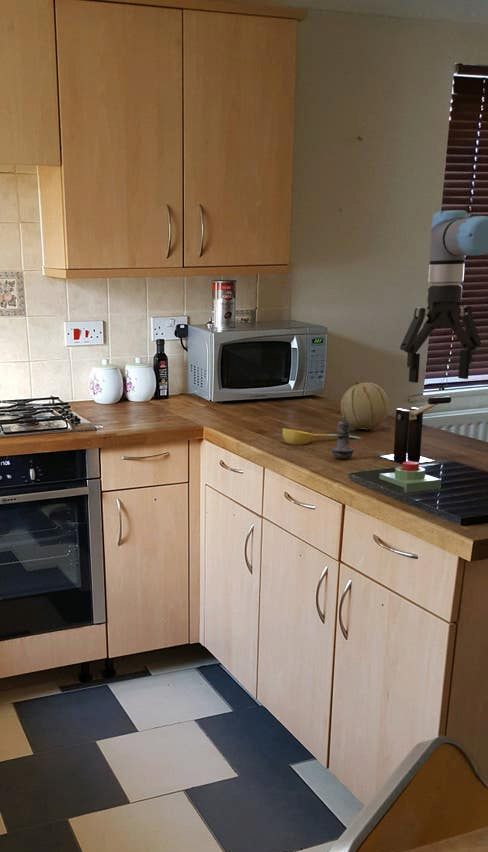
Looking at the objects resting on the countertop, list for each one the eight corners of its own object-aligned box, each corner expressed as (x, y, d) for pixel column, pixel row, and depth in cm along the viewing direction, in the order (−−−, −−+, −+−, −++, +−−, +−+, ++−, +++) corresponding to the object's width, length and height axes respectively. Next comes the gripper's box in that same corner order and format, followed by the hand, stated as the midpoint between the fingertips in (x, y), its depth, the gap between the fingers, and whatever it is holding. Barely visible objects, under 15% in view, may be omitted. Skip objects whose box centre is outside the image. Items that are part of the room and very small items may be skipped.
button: (421, 471, 198) (422, 463, 197) (408, 472, 197) (408, 465, 196) (412, 468, 201) (412, 460, 200) (398, 469, 200) (399, 462, 199)
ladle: (274, 442, 252) (278, 422, 251) (354, 455, 261) (359, 436, 259) (287, 446, 244) (291, 425, 243) (369, 460, 252) (374, 440, 251)
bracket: (435, 466, 220) (439, 410, 216) (404, 469, 217) (408, 413, 213) (407, 457, 231) (411, 405, 226) (378, 460, 228) (381, 407, 224)
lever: (452, 403, 208) (450, 393, 208) (432, 405, 206) (430, 395, 206) (416, 421, 222) (414, 412, 222) (397, 423, 221) (396, 414, 221)
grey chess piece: (330, 465, 225) (332, 418, 221) (330, 460, 230) (332, 414, 226) (354, 465, 224) (356, 418, 220) (353, 460, 229) (355, 414, 225)
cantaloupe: (389, 433, 266) (391, 383, 261) (340, 433, 269) (341, 384, 264) (386, 425, 280) (388, 378, 275) (339, 426, 283) (341, 378, 278)
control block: (440, 489, 196) (441, 471, 195) (406, 493, 194) (407, 475, 192) (412, 479, 206) (413, 462, 205) (378, 483, 204) (379, 466, 202)
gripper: (481, 283, 205) (473, 375, 211) (388, 286, 197) (383, 381, 204) (502, 282, 198) (493, 378, 205) (406, 286, 191) (401, 385, 197)
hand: (438, 380), depth 204 cm, fingers open, 13 cm apart
